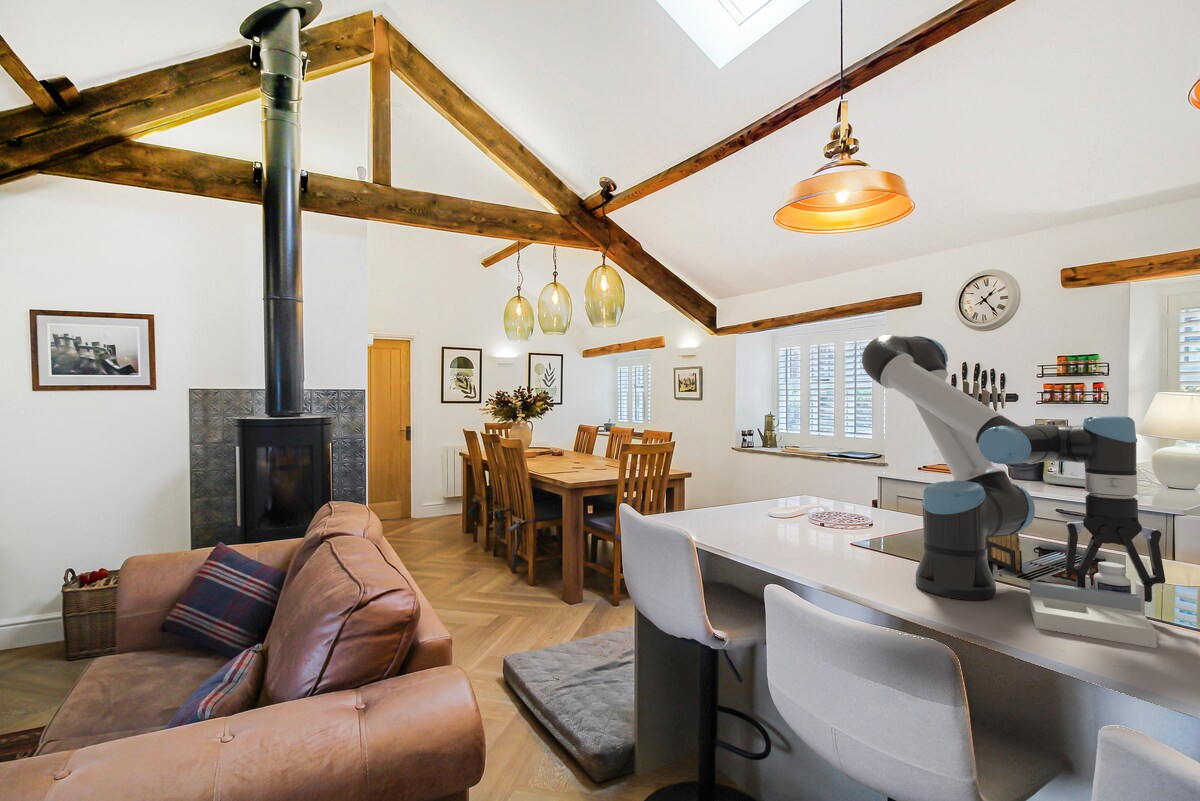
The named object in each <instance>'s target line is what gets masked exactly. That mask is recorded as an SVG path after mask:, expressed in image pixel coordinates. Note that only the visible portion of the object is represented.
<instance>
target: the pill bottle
mask: <svg viewBox="0 0 1200 801" xmlns="http://www.w3.org/2000/svg"><path fill="white" fill-rule="evenodd" d="M1097 569H1098V571H1099V572H1097V573H1094V575H1093V580H1092V582H1093V589H1098V590H1105V591H1113V592H1120V593H1128V594H1132V582H1131V580H1130V578H1129V577H1127V576H1125V575H1126V572H1127V570H1126V569H1127V568H1126V565H1124V564H1121V563H1116V562H1110V561H1098V563H1097Z"/></svg>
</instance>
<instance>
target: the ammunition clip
mask: <svg viewBox="0 0 1200 801" xmlns="http://www.w3.org/2000/svg"><path fill="white" fill-rule="evenodd" d="M986 542H987V543H986V545H987V546H986V547H987V548H986V549H987V550H986V554H987V555H986V560H987V561H988V562H992V563H994V564H996V565H998V566H1001V567H1003V568H1005V569H1008V570H1009V571H1012V572H1016V573H1017V572H1019V573H1020V572H1021V573H1022V572H1023V558H1022V555H1023V554H1022V550H1020V549H1021V548H1020V544H1021V542H1020V537H1019V533H1015V534H1012V535H1010V536H998V537H991V538H988V540H987V541H986Z"/></svg>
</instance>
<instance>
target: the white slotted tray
mask: <svg viewBox="0 0 1200 801" xmlns="http://www.w3.org/2000/svg"><path fill="white" fill-rule="evenodd" d="M1029 605H1030V606H1029V608H1030V611H1031V615H1032V619H1033V622H1034V626H1035V628H1036V629H1039V630H1046V631H1052V632H1056V631H1057V632H1058V633H1062V632H1063V633H1064V634H1068V633H1069V634H1071V635H1074V634H1075V635H1076V636H1080V635H1081V637H1087V638H1094V639H1099V640H1105V641H1110V642H1111V641H1112V642H1115V643H1116V642H1118V643H1122V644H1123V643H1124V644H1128V645H1135V646H1140V647H1147V648H1152V649H1157V630H1156V628H1155V627H1154V625H1153V624H1152V623H1151V622H1150V620H1149V619H1148V618H1147V617H1146V615H1145V616H1144V615H1143V613H1142V612H1141V597H1140V596H1139V595H1136V593H1135V594H1134V593H1131V594H1128V593H1120V592H1113V591H1105V590H1098V589H1094V588H1091V589H1090V588H1082V587H1077V586H1073V585H1066V584H1059V583H1052V582H1051V583H1050V582H1044V581H1036V580H1029ZM1063 633H1062V634H1063Z"/></svg>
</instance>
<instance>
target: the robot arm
mask: <svg viewBox="0 0 1200 801" xmlns="http://www.w3.org/2000/svg"><path fill="white" fill-rule="evenodd" d="M948 358H949V357H948V353H947V351H946V348H945V347H944V346H943V345H942V343H940V342H938V341H937V340H935V339H933V338H929V337H925V336H921V335H919V336H918V335H914V336H913V335H912V336H906V335H904V336H903V335H892V334H891V335H890V334H889V335H888V334H887V335H881V336H878V337H876V338H875V339H873V340H871V341H870V342H869V343H868V344H866V346H865V348H864V350H863V352H862V355H861V364H862V367H863V369H864V372H865V373H866V374H867V375H868V376H869V377H870V378H871V379H872V380H874V382H876V383H878V384H879V385H881V386H883V387H884V388H886V389H894V390H895V391H897V392H899V393H900V394H902V395H904V397H906V398H908V399H909V400H910V401H912V402H913V403H914V405H915V406H916V409H917V410H918V412H919V414H920V417H921V418H922V420H923V422H924V424H925V425H926V427H927V430H928V431H929V434H930V435H931V437H932V439H933V441H934V443H935V445H936V446H937V449H938V450H939V452H940V455H941V456H942V458H943V460H944V462H945V464H946V466H947V468H948V469H949V471H950V474H951V476H952V477H953V479H954V480H951V481H937V482H933V483H931V484H928V485H927V486H926V487H925V488H924V490H923V494H922V496H923V499H922V502H921V503H922V513H923V514H922V515H923V516H922V518H923V520H922V522H923V553H922V555H921V558H920V561H919V564H918V566H917V570H916V572H915V586H916V587H917V588H919V589H921V590H923V591H925V592H927V593H931V594H933V595H937V596H941V597H946V598H951V599H956V600H957V599H958V600H967V601H985V600H991V599H993V598H995V597H996V596H997V585H996V582H995V580H994V579H995V578H994V576H993V574H992V570H991V568H990V565H989V563H988V560H987V555H986V554H987V551H986V539H989V538H991V537H998V536H1010V535H1012V534H1015V533H1018V534H1019V533H1021V532H1023V531H1025V530H1026V529H1027V528H1029V527H1030V526H1031V524H1032V523H1033V520H1034V518H1035V515H1036V514H1035V513H1036V505H1035V502H1034V499H1033V498H1032V496H1031V494H1030V492H1028V491H1027V490H1026V489H1025V488H1024V487H1022V486H1020V485H1018V484H1016V483H1012V481H1011V480H1010V478H1009V477H1008V475H1007V472H1006V471H1005V470H1004V469H1001V468H998V467H995V466H994V465H993V464H997V465H1009V466H1010V465H1018V464H1025V463H1026V464H1027V463H1039V462H1040V463H1042V462H1043V463H1044V462H1065V463H1066V462H1068V463H1081V464H1082V463H1084V484H1085V485H1084V490H1085V491H1086V493H1088V494H1086V495H1085V515H1084V516H1085V517H1084V518H1083V519H1082V521H1076V522H1075V521H1071V520H1070V521H1069V520H1068V521H1066V523H1065V526H1066V530H1067V532H1068V535H1067V543H1066V550H1065V551H1066V552H1065V558H1064V565H1063V566H1064V570H1065V571H1066V572H1067V573H1070V574H1072V575H1075V580H1076V582H1075V583H1076V586H1075V587H1082V588H1090V589H1092V588H1091V587H1092V585H1091V582H1092V581H1091V577H1090V576H1089V575H1087V574H1088V572H1089V570H1090V568H1091V565H1092V564H1093V561H1094V559H1095V558H1096V556H1097V554H1098V551H1099V550H1100V548H1101V547H1102V545H1103V544H1115V545H1118V546H1123V547H1124V550H1125V551H1126V553H1127V555H1128V557H1129V560H1130V561H1131V564H1132V566H1133V567H1134V569H1135V572H1136V574H1137V575H1138V577H1139V579H1140V581H1138V580H1137V581H1136V580H1135V582H1134V584H1135V594H1136V595H1139V596H1140V597H1141V612H1142V613H1143V615H1144V616H1145V617H1146V605H1145V604H1146V603H1152V601H1153V588H1152V587H1153V586H1154V585H1156V584H1162V585H1163V584H1165V583H1166V576H1165V570H1164V566H1163V565H1164V564H1163V559H1162V554H1161V549H1160V541H1161V538H1162V532H1161V531H1160V530H1158V529H1157V528H1154V527H1152V528H1150V527H1146V526H1143V525H1142V524H1141V523H1140V521H1139V511H1138V510H1139V507H1138V506H1139V505H1138V501H1139V500H1138V499H1137V498H1136V497H1135V496H1137V495H1138V477H1137V476H1138V475H1137V474H1138V473H1137V472H1138V471H1137V443H1138V439H1137V432H1136V424H1135V420H1134V419H1133V418H1131V417H1130V416H1125V415H1123V416H1122V415H1119V416H1117V415H1116V416H1114V415H1111V416H1110V415H1109V416H1108V415H1107V416H1106V415H1105V416H1102V415H1099V416H1098V415H1094V416H1092V415H1091V416H1086V417H1085V418H1083V423H1082V425H1062V424H1061V425H1060V424H1058V425H1057V424H1041V423H1038V424H1034V423H1033V424H1025V425H1020V424H1018V423H1016V422H1014V421H1012V420H1010V419H1009V418H1007V417H1005V416H1004V415H1003V414H1000V413H999V412H998V411H995V410H994V409H993V408H990V407H989V406H987V405H985V404H984V403H982V402H980V401H979V400H978V399H976V398H974V397H972V396H971V395H969V394H968V393H966V392H964V391H963V390H960V389H959V388H957V387H956V386H954V385H952V384H950V382H947V381H946V380H947V379H948V376H949V372H948V370H947V368H948V364H947V363H948V362H949V359H948ZM1083 528H1085V529H1086V530H1087V531H1088V532H1089V533H1090V534H1091V537H1090V539H1089V543H1088V545H1087V547H1086V548H1085V551H1084V553H1083V555H1082V557H1081V559H1080V561H1079V563H1078V565H1077V567H1076V566H1075V563H1076V556H1077V549H1078V542H1079V540H1078V539H1079V534H1080V533H1082V529H1083ZM1140 533H1142V537H1143V538H1144V539H1145V540H1146V544H1147V550H1148V556H1149V561H1150V562H1149V563H1150V568H1151V572H1152V575H1149V573H1148V571H1147V568H1146V567H1145V565H1144V563H1143V561H1142V560H1141V557H1140V555H1139V553H1138V551H1137V549H1136V547H1135V545H1134V542H1133V539H1135V537H1136V536H1137V535H1139V534H1140ZM1145 602H1146V603H1145Z"/></svg>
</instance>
